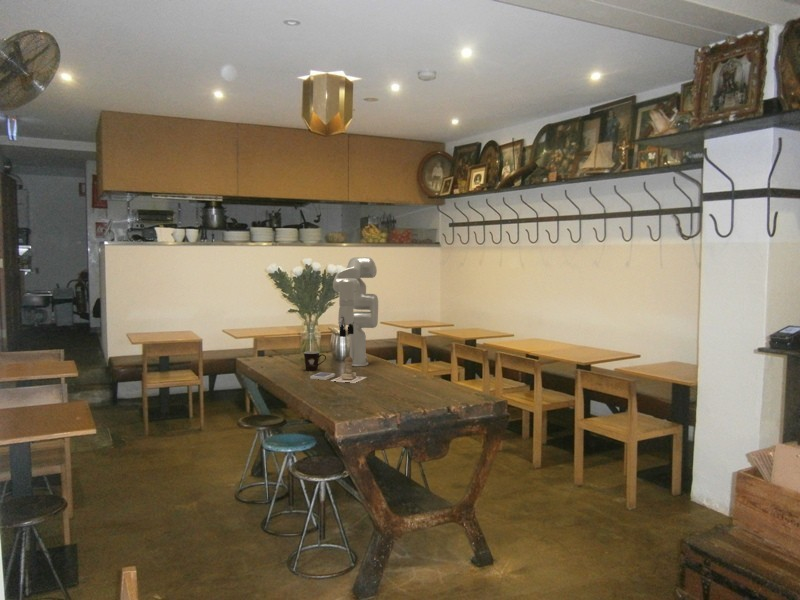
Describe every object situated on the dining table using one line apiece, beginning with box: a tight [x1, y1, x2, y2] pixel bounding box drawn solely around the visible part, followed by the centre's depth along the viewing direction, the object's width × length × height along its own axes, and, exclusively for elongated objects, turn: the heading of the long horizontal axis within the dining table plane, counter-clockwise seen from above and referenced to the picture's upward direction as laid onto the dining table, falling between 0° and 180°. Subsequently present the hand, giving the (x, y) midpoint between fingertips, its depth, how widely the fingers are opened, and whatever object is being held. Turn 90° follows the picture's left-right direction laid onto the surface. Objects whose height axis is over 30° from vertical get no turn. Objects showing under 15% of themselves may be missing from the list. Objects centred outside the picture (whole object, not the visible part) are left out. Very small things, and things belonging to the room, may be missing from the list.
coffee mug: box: [303, 350, 327, 372], centre depth 350 cm, size 12×9×10 cm
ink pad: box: [309, 372, 336, 381], centre depth 330 cm, size 11×9×2 cm
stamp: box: [340, 356, 357, 380], centre depth 325 cm, size 6×5×12 cm
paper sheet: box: [330, 375, 368, 384], centre depth 326 cm, size 15×14×1 cm
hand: (346, 335), depth 328 cm, fingers open, 9 cm apart
